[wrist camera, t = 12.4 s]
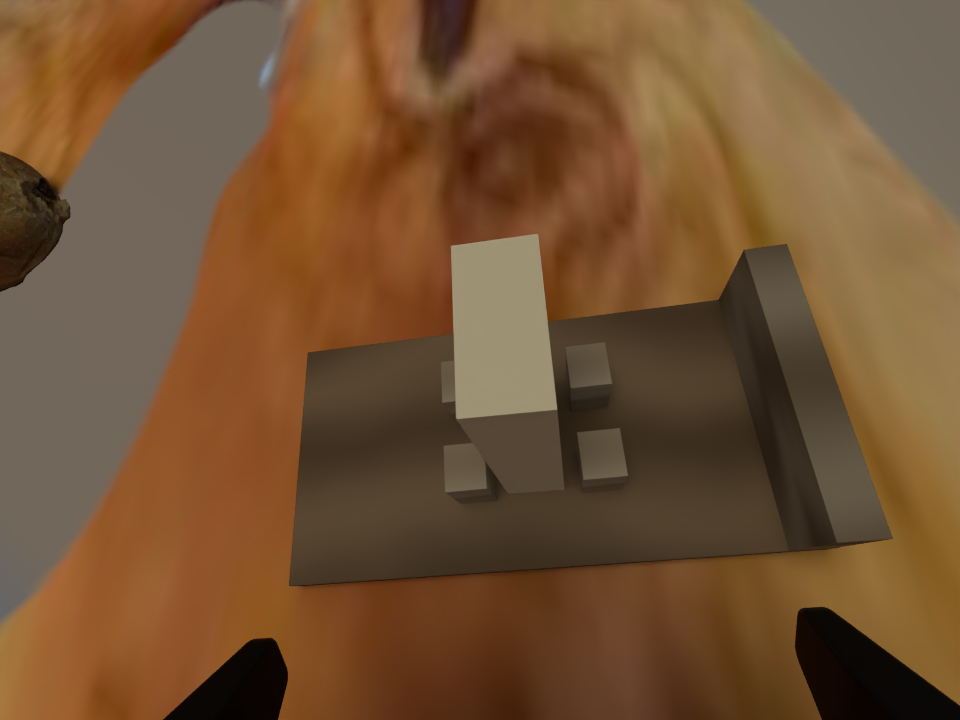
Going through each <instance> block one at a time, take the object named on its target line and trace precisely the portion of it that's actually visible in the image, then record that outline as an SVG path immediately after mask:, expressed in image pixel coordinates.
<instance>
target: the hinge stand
mask: <svg viewBox="0 0 960 720" xmlns="http://www.w3.org/2000/svg"><path fill="white" fill-rule="evenodd" d="M548 330H549V339H550V348H551V357H552V366H553V375H554V384H555V393H556V402H557V412H558V423H559V434H560V445H561V455H562V466H563V477H564V488H565V490H553V491H539V492H526V493H513V494H508V493H507V491H506V490H505V489H504V487H503V486H502V484H501V483H500V481H499V480H498V479H497V477H496V476H495V474H494V473H493V471H492V470H491V468H490V467H489V466H488V464H487V463H486V461H485V460H484V458H483V457H482V456H481V454H480V453H479V451H478V450H477V448H476V447H475V446H474V444H473V443H472V441H471V440H470V438H469V437H468V435H467V434H466V433H465V431H464V430H463V428H462V427H461V425H460V424H459V423H458V421H457V420H456V397H455V362H454V334H449V335H442V336H434V337H426V338H418V339H410V340H403V341H395V342H387V343H379V344H371V345H363V346H356V347H348V348H340V349H332V350H324V351H317V352H309V353H308V357H307V370H306V382H305V394H304V407H303V419H302V432H301V444H300V456H299V469H298V481H297V493H296V506H295V518H294V530H293V543H292V555H291V567H290V580H289V586H309V585H323V584H337V583H351V582H366V581H380V580H394V579H409V578H423V577H437V576H452V575H466V574H480V573H494V572H509V571H523V570H537V569H552V568H566V567H580V566H595V565H609V564H623V563H638V562H652V561H666V560H680V559H695V558H709V557H723V556H738V555H752V554H766V553H781V552H795V551H809V550H823V549H833V548H839V547H843V546H849V545H856V544H862V543H869V542H875V541H882V540H888V539H893V538H892V535H891V532H890V530H889V527H888V524H887V521H886V518H885V516H884V513H883V510H882V507H881V505H880V502H879V499H878V496H877V493H876V491H875V488H874V485H873V482H872V480H871V477H870V474H869V471H868V468H867V466H866V463H865V460H864V457H863V455H862V452H861V449H860V446H859V443H858V441H857V438H856V435H855V432H854V430H853V427H852V424H851V421H850V418H849V416H848V413H847V410H846V407H845V404H844V402H843V399H842V396H841V393H840V391H839V388H838V385H837V382H836V379H835V377H834V374H833V371H832V368H831V366H830V363H829V360H828V357H827V354H826V352H825V349H824V346H823V343H822V341H821V338H820V335H819V332H818V329H817V327H816V324H815V321H814V318H813V316H812V313H811V310H810V307H809V304H808V302H807V299H806V296H805V293H804V291H803V288H802V285H801V282H800V279H799V277H798V274H797V271H796V268H795V265H794V263H793V260H792V257H791V254H790V252H789V249H788V246H787V244H783V245H776V246H769V247H762V248H754V249H747V250H744V251H743V253H742V255H741V257H740V259H739V261H738V263H737V265H736V267H735V269H734V271H733V273H732V275H731V277H730V279H729V281H728V283H727V285H726V287H725V289H724V291H723V293H722V295H721V297H720V299H719V300H715V301H707V302H699V303H692V304H684V305H676V306H668V307H660V308H653V309H645V310H637V311H629V312H621V313H614V314H606V315H598V316H590V317H582V318H574V319H567V320H559V321H551V322H548Z"/></svg>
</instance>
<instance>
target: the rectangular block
mask: <svg viewBox="0 0 960 720" xmlns="http://www.w3.org/2000/svg"><path fill="white" fill-rule="evenodd" d="M451 258H452V293H453V328H454V362H455V397H456V420H457V421H458V423H459V424H460V425H461V427H462V428H463V430H464V431H465V433H466V434H467V435H468V437H469V438H470V440H471V441H472V443H473V444H474V446H475V447H476V448H477V450H478V451H479V453H480V454H481V456H482V457H483V458H484V460H485V461H486V463H487V464H488V466H489V467H490V468H491V470H492V471H493V473H494V474H495V476H496V477H497V479H498V480H499V481H500V483H501V484H502V486H503V487H504V489H505V490H506V491H507V493H508V494H513V493H526V492H539V491H553V490H565V488H564V477H563V466H562V455H561V445H560V434H559V423H558V412H557V402H556V393H555V384H554V375H553V366H552V357H551V348H550V339H549V330H548V321H547V312H546V303H545V294H544V285H543V276H542V267H541V258H540V249H539V240H538V234H534V235H527V236H520V237H512V238H505V239H498V240H490V241H483V242H476V243H469V244H461V245H454V246H451Z"/></svg>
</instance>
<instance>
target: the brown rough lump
mask: <svg viewBox="0 0 960 720" xmlns="http://www.w3.org/2000/svg"><path fill="white" fill-rule="evenodd" d="M69 218H70V206H69V204H68V203H67V201H66V200H60V198H59V196H58V195H57V193H56V192H55V191H54V189H53V188H52V187H51V186H50V185H49V183H48V181H47V180H46V179H45V178H44V177H43V176H42V175H41V174H40V173H39V172H37V171H36V170H35V169H34V168H33V167H31V166H30V165H28V164H27V163H25V162H23V161H22V160H20V159H18V158H16V157H13V156H11V155H9V154H6V153H3V152H0V292H1V291H4V290H7V289H9V288H11V287H15V286H17V285H19V284H21V283H23V281H24V279H25V277H26V275H27V274H28V273H30V272H31V271H32V270H33V269H34V268H35V267H36V266H37V265H39V264H40V263H41V262H42V261H43V260H45V259H46V257H47V256H48V255H49V254H50V253H51V251H52V250H53V249H54V248H55V246H56V245H57V244H58V242H59V239H60V237H61V234H62V232H63V224H64V223H65V221H66V220H67V219H69Z"/></svg>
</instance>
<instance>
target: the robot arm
mask: <svg viewBox="0 0 960 720" xmlns="http://www.w3.org/2000/svg"><path fill="white" fill-rule="evenodd" d="M795 649H796V654H797V658H798V661H799V664H800V666H801V669H802V671H803V674H804V676H805V678H806V681H807V683H808V686H809V688H810V691H811V693H812V696H813V698H814V701H815V703H816V706H817V708H818V711H819V713H820V716H821V718H822V720H960V705H958V704H957V703H956V702H954V701H953V700H952V699H950V698H949V697H948V696H946V695H945V694H944V693H942V692H941V691H939V690H938V689H937V688H935V687H934V686H933V685H931V684H930V683H929V682H927V681H926V680H925V679H923V678H922V677H921V676H919V675H918V674H917V673H915V672H914V671H913V670H911V669H910V668H909V667H907V666H906V665H905V664H903V663H902V662H901V661H899V660H898V659H896V658H895V657H894V656H892V655H891V654H890V653H888V652H887V651H886V650H884V649H883V648H882V647H880V646H879V645H878V644H876V643H875V642H874V641H872V640H871V639H870V638H868V637H867V636H866V635H864V634H863V633H862V632H860V631H859V630H858V629H856V628H855V627H853V626H852V625H851V624H849V623H848V622H847V621H845V620H844V619H843V618H841V617H840V616H839V615H837V614H836V613H835V612H833V611H832V610H830V609H828V608H825V607H814V608H802V609H800V610H799V612H798V615H797V626H796V639H795ZM287 681H288V671H287V667H286V664H285V662H284V659H283V657H282V654H281V652H280V650H279V647H278V645H277V642H276V641H275V640H274V639H273V638H260V639H253V640H250V641H249V642H247V643H246V644H245V645H244V646H243V647H242V648H241V649H240V650H239V651H237V652H236V653H235V654H234V655H233V656H232V657H231V658H230V659H229V660H228V661H226V662H225V663H224V664H223V665H222V666H221V667H220V668H219V669H218V670H217V671H216V672H214V673H213V674H212V675H211V676H210V677H209V678H208V679H207V680H206V681H205V682H204V683H202V684H201V685H200V686H199V687H198V688H197V689H196V690H195V691H194V692H193V693H192V694H190V695H189V696H188V697H187V698H186V699H185V700H184V701H183V702H182V703H181V704H180V705H178V706H177V707H176V708H175V709H174V710H173V711H172V712H171V713H170V714H169V715H168V716H166V717H165V718H164V719H163V720H278V717H279V713H280V709H281V706H282V702H283V698H284V694H285V690H286V686H287Z"/></svg>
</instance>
